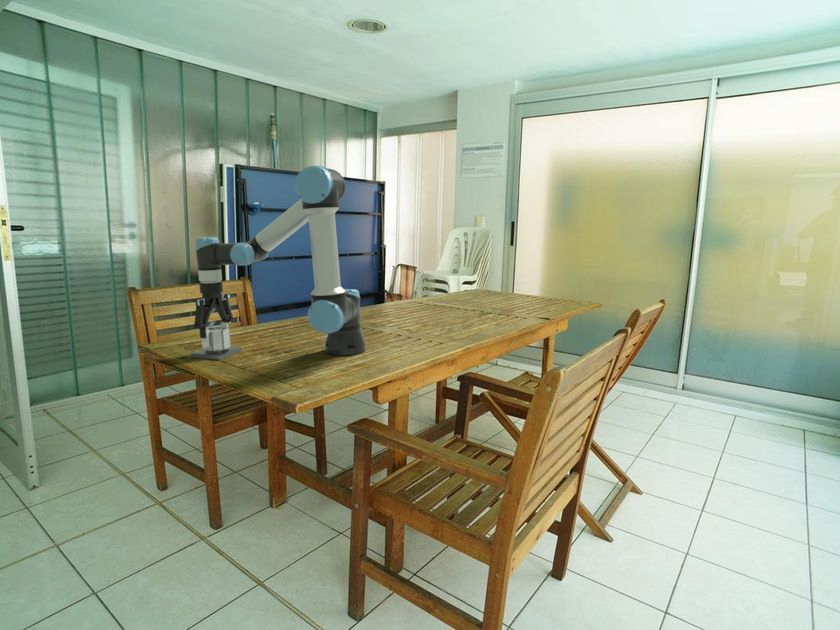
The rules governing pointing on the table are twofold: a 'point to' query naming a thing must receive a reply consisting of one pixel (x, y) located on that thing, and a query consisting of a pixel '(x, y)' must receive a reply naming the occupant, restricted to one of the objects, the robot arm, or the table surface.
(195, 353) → the shaft block
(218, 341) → the ring
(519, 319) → the table surface
